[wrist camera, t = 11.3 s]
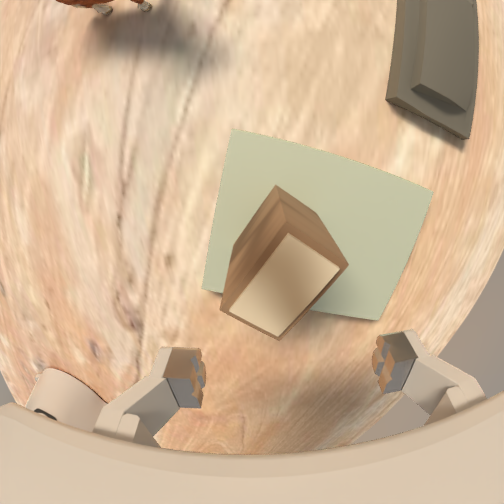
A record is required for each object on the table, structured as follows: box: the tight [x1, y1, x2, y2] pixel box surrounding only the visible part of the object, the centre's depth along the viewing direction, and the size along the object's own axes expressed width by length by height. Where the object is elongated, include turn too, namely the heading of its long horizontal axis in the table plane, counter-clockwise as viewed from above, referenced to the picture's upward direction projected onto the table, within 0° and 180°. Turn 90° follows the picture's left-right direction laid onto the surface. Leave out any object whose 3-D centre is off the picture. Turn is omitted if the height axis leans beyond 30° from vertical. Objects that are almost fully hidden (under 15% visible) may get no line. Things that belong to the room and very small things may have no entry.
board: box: [202, 129, 433, 320], centre depth 24 cm, size 14×18×2 cm
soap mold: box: [385, 0, 479, 140], centre depth 14 cm, size 10×20×4 cm, turn 168°
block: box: [220, 184, 349, 341], centre depth 18 cm, size 6×4×9 cm, turn 146°
